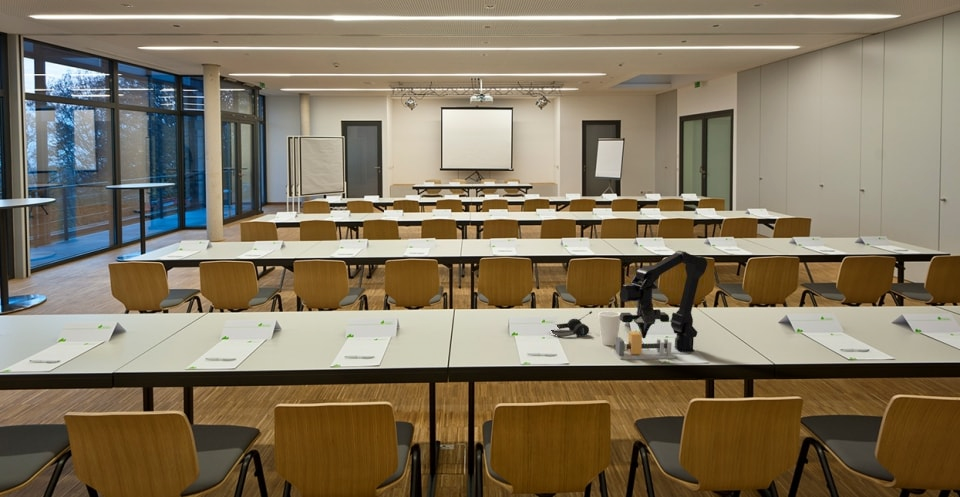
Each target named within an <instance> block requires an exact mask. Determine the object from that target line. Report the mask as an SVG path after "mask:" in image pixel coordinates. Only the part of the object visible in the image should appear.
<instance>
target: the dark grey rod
mask: <svg viewBox="0 0 960 497" xmlns="http://www.w3.org/2000/svg"><path fill="white" fill-rule="evenodd" d="M667 345H668V343H664V348H667ZM656 348H660V343H657V342H656V343H642V349H641V350H654V349H656ZM628 349H631V344H628V343H627V342H626V341H624V351H627V350H628Z"/></svg>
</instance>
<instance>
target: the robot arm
mask: <svg viewBox="0 0 960 497" xmlns="http://www.w3.org/2000/svg"><path fill="white" fill-rule="evenodd" d="M682 263H683V264H685V266H684V269H685V272H686V278H685V283H684V287H683V291H682V295H681V298H680V299H681V300H680V304H679V308H678V310H677V311H676V312H672V313H671V314H672V315H671V319H670V316H669V314H668V313H666V312H664V311H661V309H657V308H656V309H654V304H653V293H654V292H653V290H655V289H658V286H657V285H655V282H656V281H658V280H659V278H660V277H661V275H663V274H665V273H667V272H668V271H670V270H672V269H673V268H675V267H677V266H678V265H680V264H682ZM707 268H708V260H707V259H706V257H704V256H700V255H695V254H690V253H688V252H687V251H683V250H676V251H675V252H674V253H673V254H671V255H668V256H666V257H665V258H663V259H662V260H661V261H658V262H657V263H654V264H652V265H646V266H643V267H641V268H638V269H637V270H636V273H635V275H634V276H633V278H632V280H631V281H630V283H629V284H623V285H622V288H621V289H620V291H619V299H620V300H621V302H622V303H629V302H636V305H637V308H636V314H632V313H631V312H620V322H622V323H632V322H634V323H635V325H636V324H637V327H638V329H639V332H640V333H641V334H642V339H646V336H647V334H648V331H649V330H650V328H651V326H652V325H655V324H656V320H659V321H660V322H661V323H669V322H670V327H671V328H672V330H673V333H674V334H676V337H675V338H674V349H675V350H677V351H678V352H695V349H694V341H695V340H694V338H697V335H698V330H696V328H695V327H694V326H693V325H694V324H693V323H694V317H693V315H692V310H693V306H694V302H695V297H696V295H697V294H696V292H697V288H698V285H699V280H700V279H701V277H702V276H703V275H704V274H705V273H706V269H707Z"/></svg>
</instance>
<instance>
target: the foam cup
mask: <svg viewBox="0 0 960 497" xmlns="http://www.w3.org/2000/svg"><path fill="white" fill-rule="evenodd" d="M620 314H621V312H618V311H612V310H611V311H607V310H606V311H605V310H604V311H600V312H598V317H597V318H598V324H599V332H600V341H601V344H602V345H603V344H604V346H609V345H612V346H616V337H619V331H620V324H621V320H620Z"/></svg>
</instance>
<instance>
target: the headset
mask: <svg viewBox="0 0 960 497" xmlns="http://www.w3.org/2000/svg"><path fill="white" fill-rule="evenodd" d="M591 314H593V311H592V310H590V311H589V312H588V313H587V314H586V315H584V316H583V317H581V318H571V319H569V320H568V322H566V323H558V324H556V325H557V327H558V328H559V329H558V330H555V331H554V330H551V331H552V333H553V334H555V335H557V336H558V337H557V338H564V337H570V336H574V335H576V336H578V337H587V335H589V333H590V328H589V326H588V325H586V324H584V323H582V319H583V318H585V317H587V316H588V315H591ZM562 329H569V330H564V331H560V330H562Z"/></svg>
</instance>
